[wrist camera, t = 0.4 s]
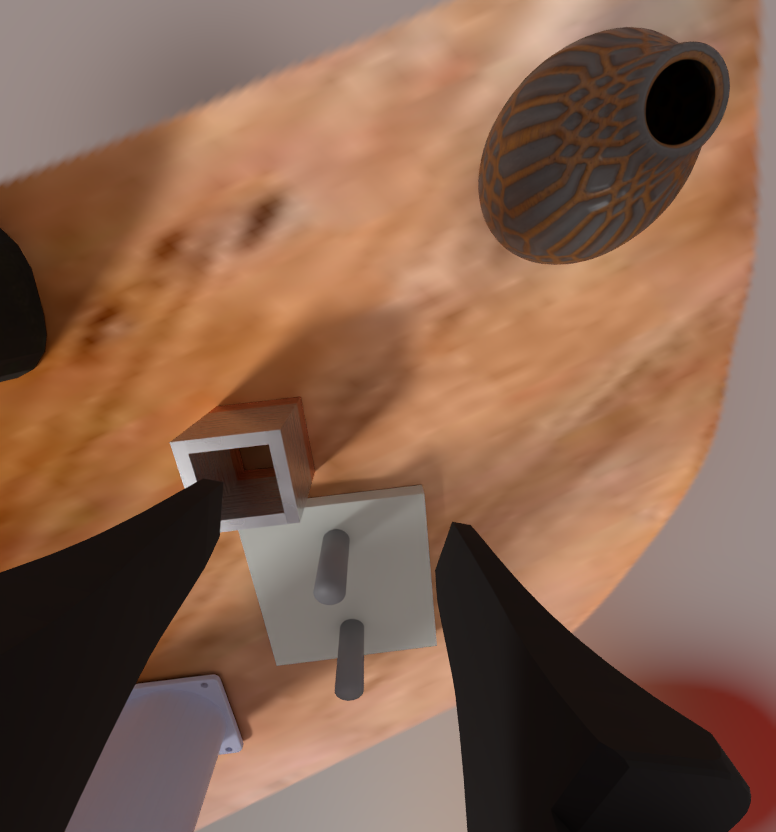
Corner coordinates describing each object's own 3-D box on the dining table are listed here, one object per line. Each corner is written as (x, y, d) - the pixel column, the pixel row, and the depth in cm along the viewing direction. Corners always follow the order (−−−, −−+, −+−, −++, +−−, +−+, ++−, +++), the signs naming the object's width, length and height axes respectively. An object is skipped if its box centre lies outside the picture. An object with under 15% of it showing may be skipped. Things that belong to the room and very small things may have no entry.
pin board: (280, 652, 26) (260, 732, 21) (239, 506, 22) (205, 565, 17) (434, 632, 26) (448, 708, 21) (421, 484, 22) (436, 537, 17)
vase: (591, 269, 19) (768, 253, 10) (457, 268, 18) (530, 250, 10) (619, 104, 16) (873, -84, 8) (467, 99, 16) (572, -102, 8)
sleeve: (236, 481, 21) (199, 534, 17) (216, 406, 20) (169, 442, 15) (314, 471, 22) (300, 522, 17) (300, 396, 20) (279, 429, 15)
